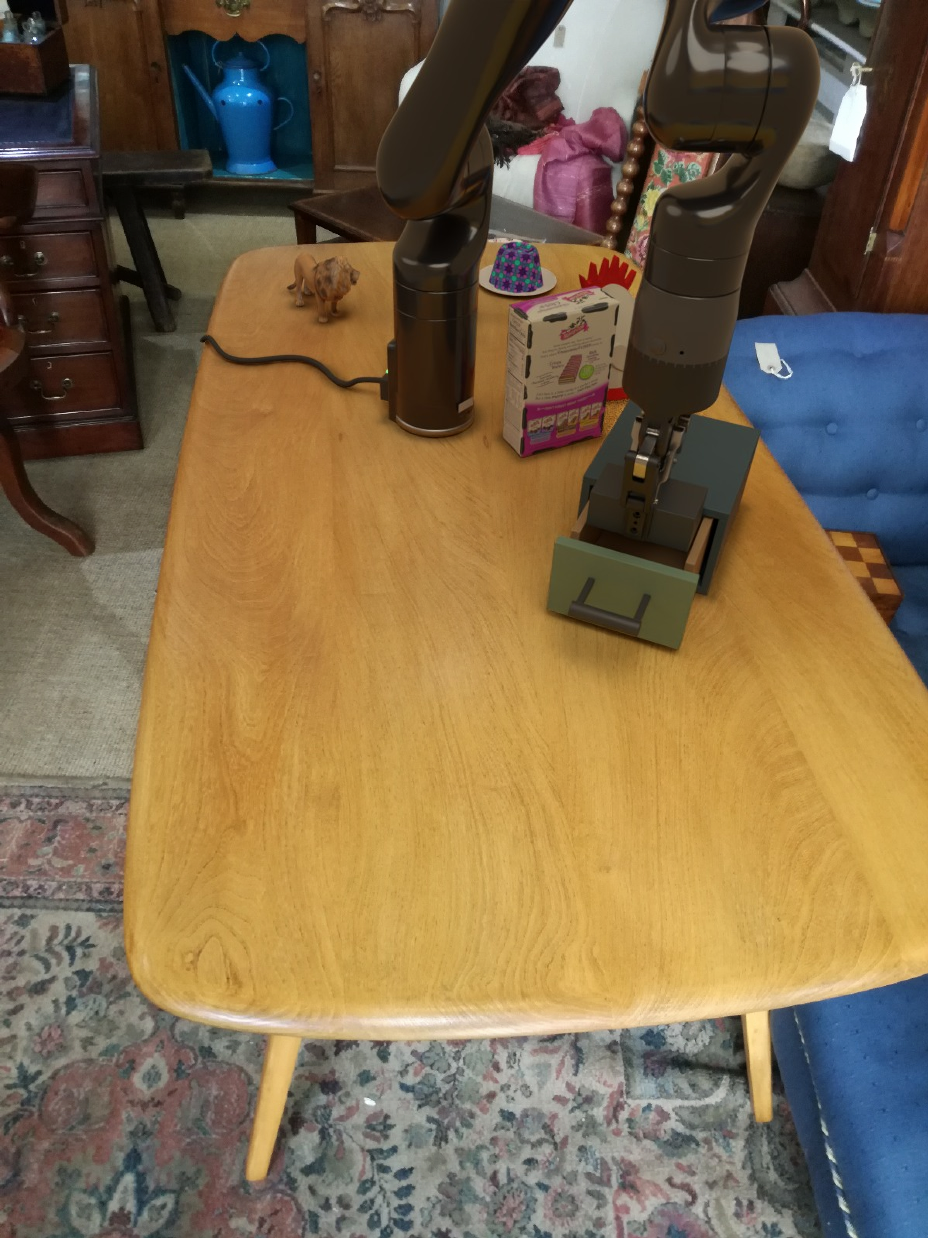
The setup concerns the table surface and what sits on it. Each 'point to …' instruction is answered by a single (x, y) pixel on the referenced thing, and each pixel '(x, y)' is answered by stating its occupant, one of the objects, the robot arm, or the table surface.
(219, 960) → the table surface
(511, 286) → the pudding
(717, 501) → the cabinet
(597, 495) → the matte charcoal brick
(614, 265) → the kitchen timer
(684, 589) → the drawer
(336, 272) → the lion figurine
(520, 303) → the candy bar box
